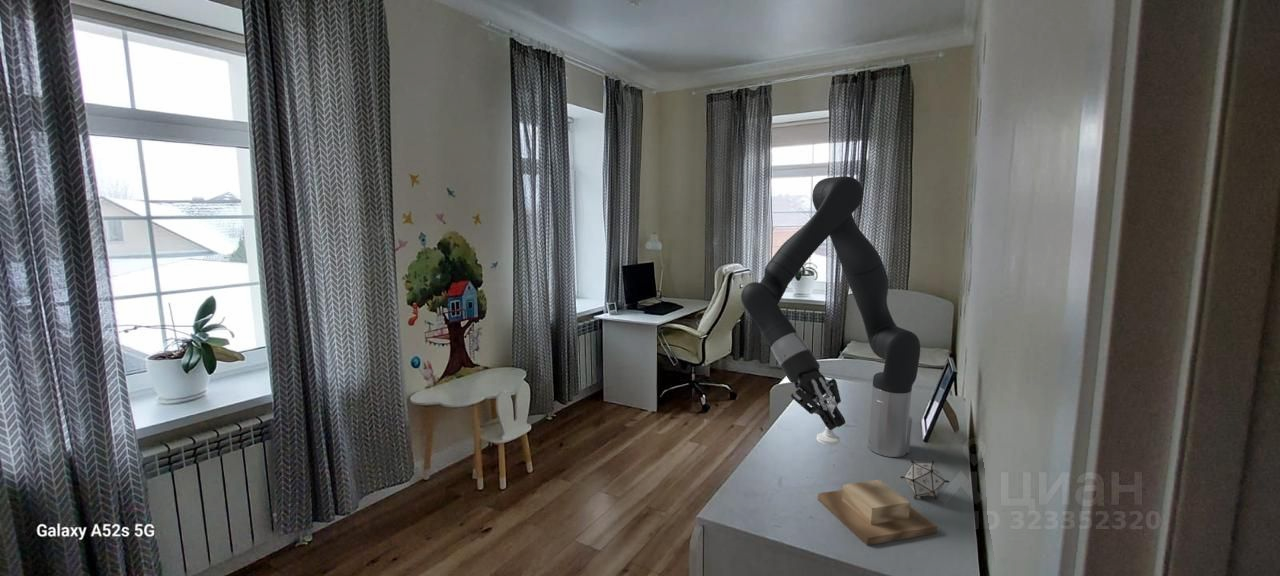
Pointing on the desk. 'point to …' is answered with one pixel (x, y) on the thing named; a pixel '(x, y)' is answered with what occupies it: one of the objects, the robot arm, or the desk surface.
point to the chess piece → (828, 435)
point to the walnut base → (876, 529)
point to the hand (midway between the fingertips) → (837, 426)
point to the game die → (924, 479)
